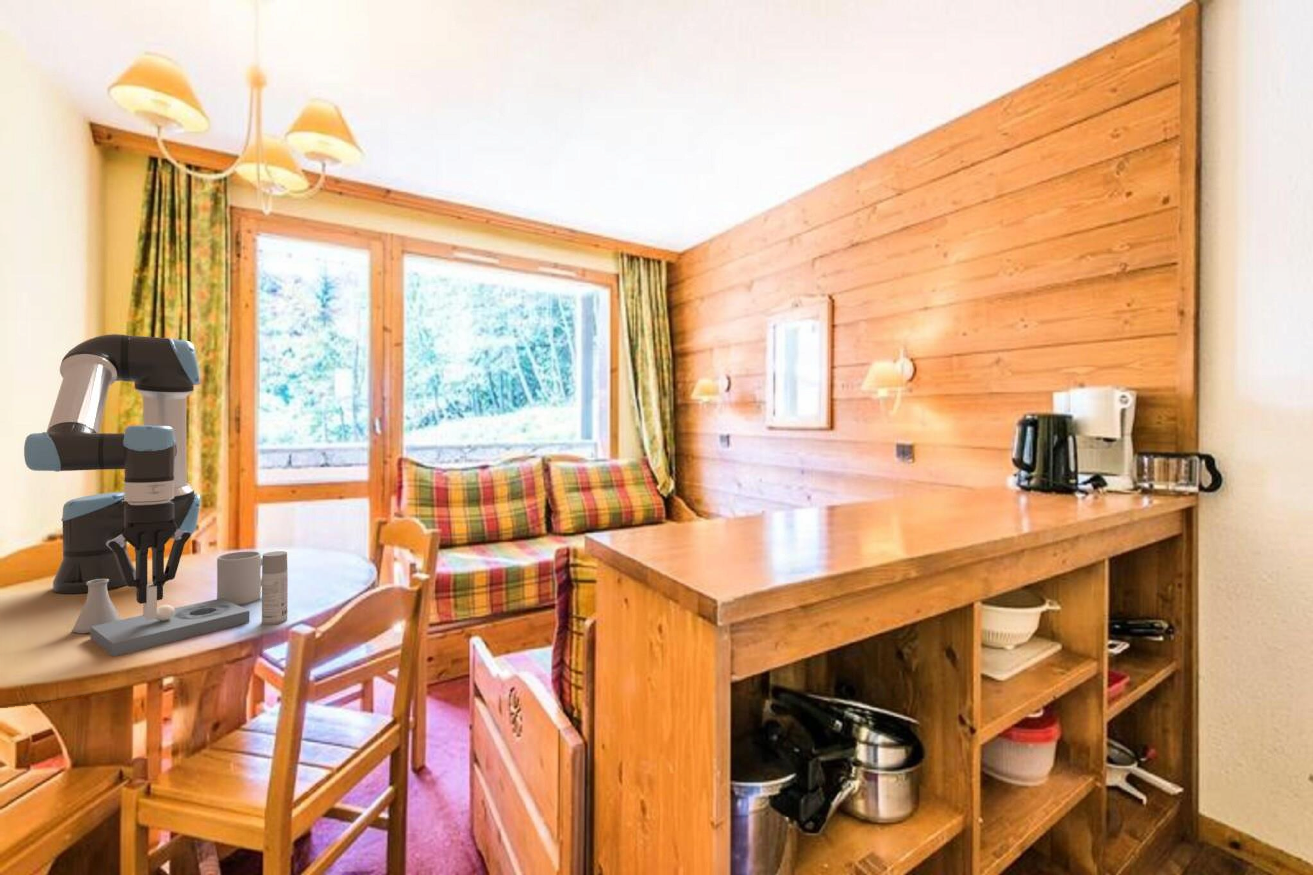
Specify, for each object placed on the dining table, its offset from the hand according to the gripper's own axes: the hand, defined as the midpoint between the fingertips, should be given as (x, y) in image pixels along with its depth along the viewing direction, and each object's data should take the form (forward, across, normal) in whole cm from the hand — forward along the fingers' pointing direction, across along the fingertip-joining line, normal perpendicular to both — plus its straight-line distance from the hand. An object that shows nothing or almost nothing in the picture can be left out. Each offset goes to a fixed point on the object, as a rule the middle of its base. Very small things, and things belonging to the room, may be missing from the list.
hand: (149, 617), depth 113 cm
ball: (0, +2, 0) cm, 2 cm away
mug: (+4, +21, +11) cm, 24 cm away
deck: (+4, +4, 0) cm, 5 cm away
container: (+4, +18, -10) cm, 22 cm away
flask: (+4, -5, +14) cm, 15 cm away
